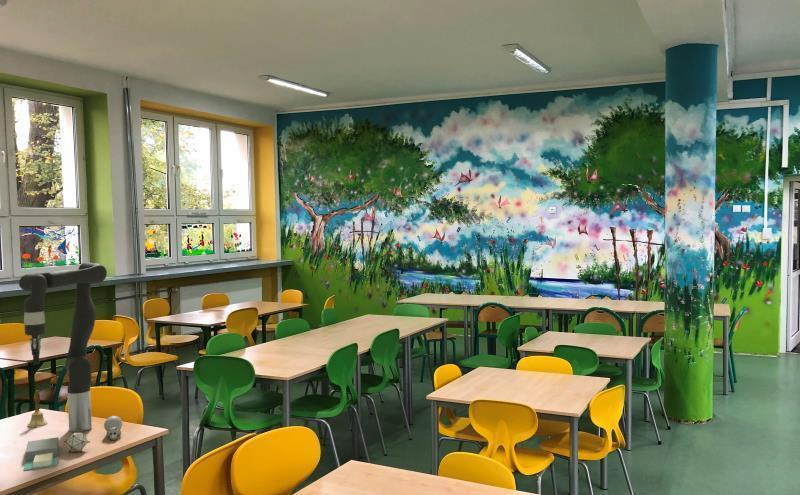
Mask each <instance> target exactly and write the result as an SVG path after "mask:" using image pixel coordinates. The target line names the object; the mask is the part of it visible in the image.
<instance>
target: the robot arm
mask: <svg viewBox="0 0 800 495" xmlns="http://www.w3.org/2000/svg"><path fill="white" fill-rule="evenodd" d="M107 272H108V271H107V269H106V267H105V266H104V265H102V264H101V263H95V262H87V261H86V262H82V263H80V265H79V267H78V269H65V270H63V269H61V270H54V271H53V270H52V271H47V272H41V273H39V272H38V273H27V274H24V275H22V276H21V277H20V278H19V281H18V286H19V288H21V289H22V290H23V291H25V292H31V294H30V297H26V298H25V300H24V301H23V302H24V304H23V309H24V311H23V312H24V315H23V316H24V317H23V324H24V327H23V328H24V335H25V336H31V338H29V344H30V351H31V355H32V363H33V365H34V366H36V365H37V366H38V365H39V364H40V362H41V361H40V354H41V348H42V345H41V343H42V337H40V335H44V334H46V333H47V332H46V315H45V305H44V303H45V302H44V300H45V297H46V293H47V289H55V288H61V287H66V286H72V285H76V290H75V300H74V310H73V315H72V321H71V328H70V329H71V331H70V340H69V348H68V351H67V355H66V358H65V363H64V365H65V366H64V369H65V370H66V372H67V374H68V386H67V410H68V412H67V413H68V414H67V415H68V430H69V432H72V431H73V432H74V433H80V432H84V431H85V432H86V431H88V430H92V429H93V427H92V426H93V425H92V402H91V401H92V400H91V398H92V397H91V386H92V364H91V361H90V360H89V359H88V358H87V351H88V350H87V348H88V343H89V340H90V338H91V335H92V333H93V331H94V327H95V322H96V316H97V311H96V308H95V304H94V301H93V299H92V296H91V295H92V294H91V286H92V284H94V285H95V284H101V283H102V282H104V281H105V279H106V278H107V274H108V273H107Z"/></svg>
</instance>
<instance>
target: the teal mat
mask: <svg viewBox="0 0 800 495" xmlns="http://www.w3.org/2000/svg"><path fill="white" fill-rule="evenodd" d="M24 462H25V463H24V467H23V471H24V472H26V471H34V470H37V469H38V470H39V469H46V468H51V467H56V466H57V465H58V457H53V459H52V463H51V465H48V466H41V467H34V468H33V461H27V462H26V461H24Z"/></svg>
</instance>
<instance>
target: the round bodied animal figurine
mask: <svg viewBox="0 0 800 495" xmlns="http://www.w3.org/2000/svg"><path fill="white" fill-rule="evenodd" d="M122 426H123V420H122V419H121V418H120V417H119V416H116V415H111V416H109V417H107V418H106V420H105V421H104V422H103V427H104V429H105V431H106V436H107V437H108V438H110V440H111V441H115V440H117V439H118V436H121V435H122Z"/></svg>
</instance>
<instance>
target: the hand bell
mask: <svg viewBox="0 0 800 495" xmlns="http://www.w3.org/2000/svg"><path fill="white" fill-rule="evenodd" d="M40 401H41V394H40V391H39V390H38V389H37V390H35V391H34V395H33V402H34V406H35V407H34V410H35V411H33V412H32V414H31V418H30V421H29V423H27V427H28V428H38V427H43V426H46V425H48V422H49V421H46V419H45V417H44V413H43V411H40Z"/></svg>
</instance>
